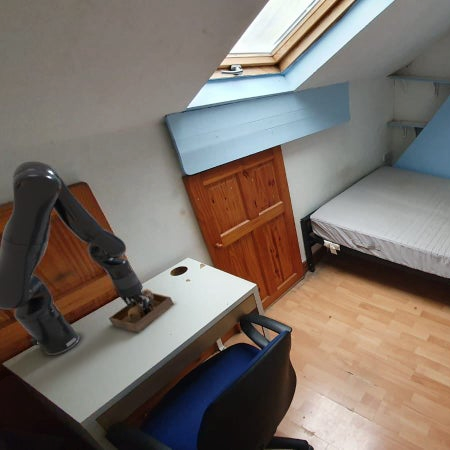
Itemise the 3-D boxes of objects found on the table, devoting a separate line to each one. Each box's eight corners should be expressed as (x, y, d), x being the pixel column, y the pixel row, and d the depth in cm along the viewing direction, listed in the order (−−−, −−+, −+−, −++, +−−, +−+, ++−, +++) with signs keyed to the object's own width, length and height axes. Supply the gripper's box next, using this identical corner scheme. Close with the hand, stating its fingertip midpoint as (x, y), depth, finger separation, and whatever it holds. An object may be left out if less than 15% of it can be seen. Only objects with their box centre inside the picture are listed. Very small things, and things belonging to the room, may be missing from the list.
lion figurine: (148, 302, 136) (140, 287, 131) (161, 301, 136) (153, 286, 132) (125, 328, 123) (115, 313, 119) (139, 328, 124) (130, 312, 119)
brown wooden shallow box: (113, 325, 125) (108, 318, 123) (150, 298, 138) (146, 291, 136) (139, 332, 122) (134, 325, 120) (173, 304, 136) (170, 297, 133)
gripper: (149, 279, 123) (165, 310, 131) (122, 273, 125) (139, 303, 134) (131, 292, 116) (149, 323, 125) (102, 285, 119) (122, 316, 128)
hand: (144, 312), depth 130 cm, fingers closed on lion figurine, 4 cm apart
